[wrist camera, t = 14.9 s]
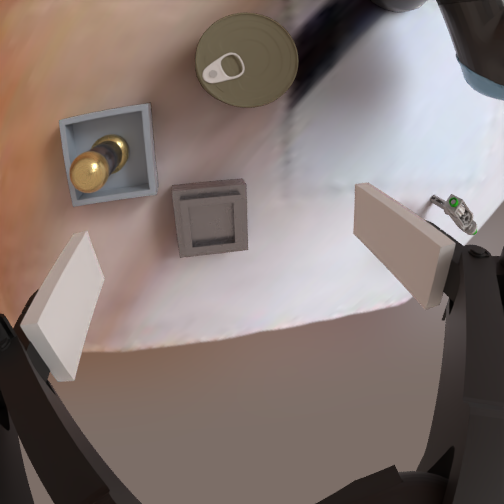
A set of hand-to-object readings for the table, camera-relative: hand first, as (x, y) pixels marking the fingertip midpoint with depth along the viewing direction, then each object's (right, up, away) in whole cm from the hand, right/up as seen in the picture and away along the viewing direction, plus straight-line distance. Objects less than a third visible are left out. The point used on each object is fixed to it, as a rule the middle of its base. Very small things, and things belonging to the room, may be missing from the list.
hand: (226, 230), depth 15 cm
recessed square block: (-5, +5, +32) cm, 33 cm away
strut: (-18, +12, +24) cm, 32 cm away
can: (-1, +24, +23) cm, 33 cm away
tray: (-18, +13, +24) cm, 33 cm away
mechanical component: (+36, +9, +39) cm, 54 cm away
